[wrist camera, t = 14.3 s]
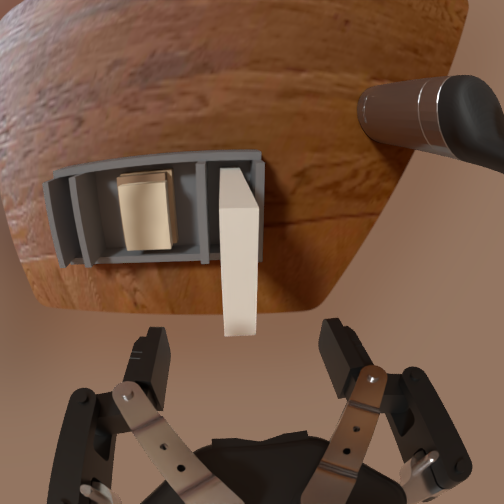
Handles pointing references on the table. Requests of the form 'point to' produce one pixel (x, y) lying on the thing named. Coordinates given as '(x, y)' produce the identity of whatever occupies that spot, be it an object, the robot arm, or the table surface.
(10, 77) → the table surface
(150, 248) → the offcuts
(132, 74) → the table surface
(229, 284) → the white rectangular board
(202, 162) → the rack
